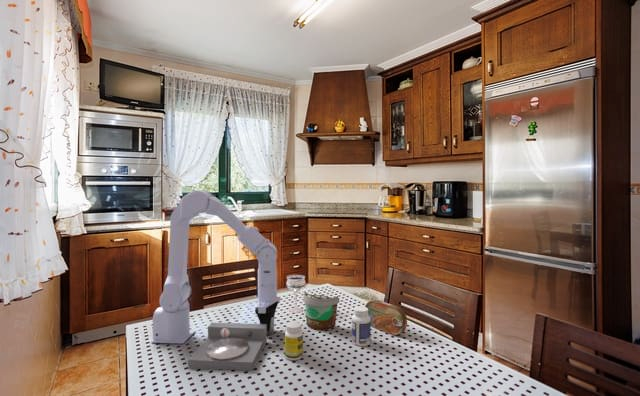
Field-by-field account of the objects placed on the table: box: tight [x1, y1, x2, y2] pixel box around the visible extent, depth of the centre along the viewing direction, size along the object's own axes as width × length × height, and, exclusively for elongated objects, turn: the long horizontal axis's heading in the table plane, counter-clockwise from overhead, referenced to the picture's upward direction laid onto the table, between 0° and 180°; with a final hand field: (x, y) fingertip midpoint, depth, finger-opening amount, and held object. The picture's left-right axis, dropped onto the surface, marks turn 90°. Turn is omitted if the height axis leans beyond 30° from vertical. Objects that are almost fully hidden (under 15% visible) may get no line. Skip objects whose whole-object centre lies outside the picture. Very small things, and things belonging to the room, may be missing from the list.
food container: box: [302, 291, 340, 331], centre depth 103 cm, size 12×6×10 cm, turn 68°
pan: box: [207, 338, 248, 360], centre depth 85 cm, size 10×10×1 cm
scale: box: [187, 322, 268, 371], centre depth 87 cm, size 16×15×5 cm
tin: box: [364, 299, 408, 336], centre depth 102 cm, size 15×3×8 cm, turn 41°
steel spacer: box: [267, 316, 275, 336], centre depth 99 cm, size 4×4×4 cm
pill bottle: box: [351, 306, 372, 347], centre depth 94 cm, size 5×5×10 cm
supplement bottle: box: [284, 321, 304, 361], centre depth 86 cm, size 5×5×8 cm
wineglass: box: [286, 274, 306, 314], centre depth 118 cm, size 7×7×12 cm
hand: (267, 327), depth 100 cm, fingers closed on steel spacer, 4 cm apart
